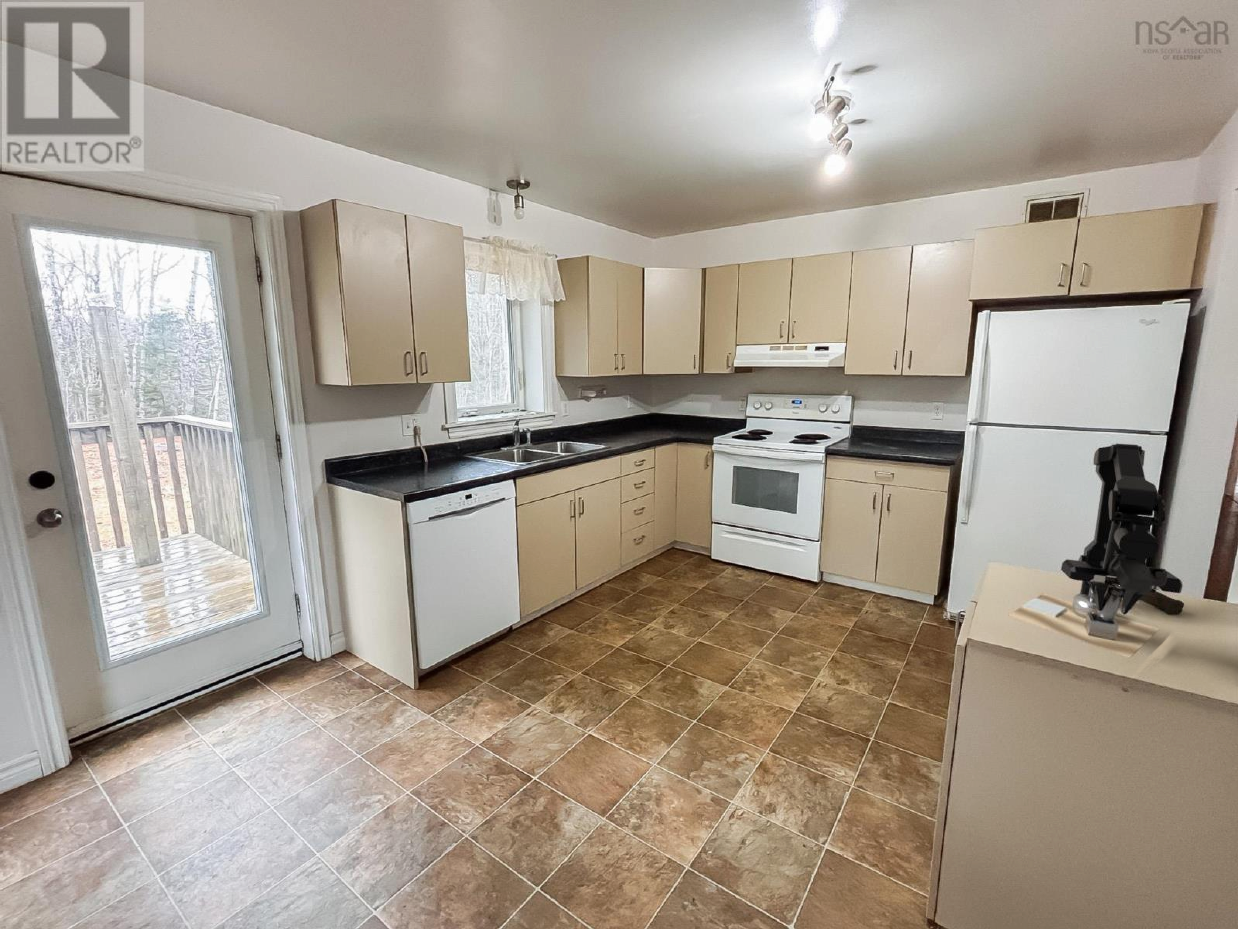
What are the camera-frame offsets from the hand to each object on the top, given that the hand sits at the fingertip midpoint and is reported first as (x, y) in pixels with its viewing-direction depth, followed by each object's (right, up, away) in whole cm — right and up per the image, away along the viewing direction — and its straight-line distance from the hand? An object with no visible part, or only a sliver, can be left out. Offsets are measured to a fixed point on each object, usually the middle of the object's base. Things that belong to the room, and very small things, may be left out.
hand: (1111, 611), depth 118 cm
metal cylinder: (-1, -4, +1) cm, 4 cm away
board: (-1, -6, +7) cm, 9 cm away
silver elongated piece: (+2, -4, +6) cm, 8 cm away
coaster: (-4, -3, +14) cm, 14 cm away
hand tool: (+26, -3, +21) cm, 33 cm away
